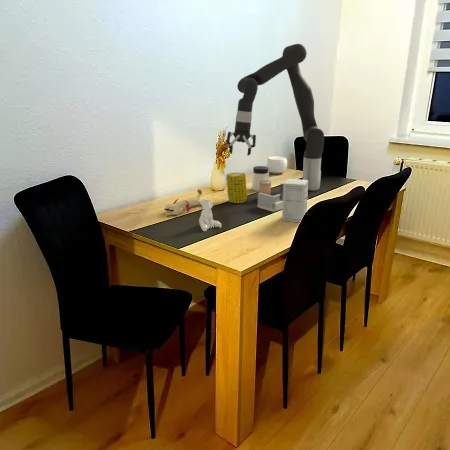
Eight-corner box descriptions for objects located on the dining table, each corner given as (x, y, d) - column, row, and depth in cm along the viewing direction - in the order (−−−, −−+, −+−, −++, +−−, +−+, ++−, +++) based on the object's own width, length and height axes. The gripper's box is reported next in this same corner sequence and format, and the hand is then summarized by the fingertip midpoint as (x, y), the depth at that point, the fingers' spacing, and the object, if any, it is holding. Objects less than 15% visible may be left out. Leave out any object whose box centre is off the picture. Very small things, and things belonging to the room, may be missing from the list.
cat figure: (193, 205, 223) (158, 213, 204) (193, 187, 221) (158, 194, 201) (209, 208, 218) (174, 217, 198) (209, 190, 216) (175, 197, 196)
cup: (266, 175, 280) (266, 159, 277) (267, 170, 291) (268, 155, 288) (286, 175, 278) (286, 160, 275) (286, 171, 290) (287, 156, 286)
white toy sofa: (280, 200, 226) (281, 186, 224) (296, 204, 219) (297, 190, 217) (257, 207, 215) (257, 192, 213) (273, 211, 208) (273, 197, 206)
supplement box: (307, 216, 201) (309, 179, 196) (303, 223, 193) (305, 184, 187) (285, 214, 204) (287, 178, 199) (281, 220, 196) (283, 182, 190)
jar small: (264, 197, 232) (264, 179, 229) (272, 199, 228) (273, 181, 225) (256, 199, 228) (257, 181, 225) (265, 201, 224) (265, 183, 221)
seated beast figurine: (203, 232, 182) (203, 203, 178) (192, 226, 189) (191, 198, 185) (222, 227, 188) (222, 199, 184) (210, 222, 194) (210, 195, 190)
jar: (260, 192, 241) (260, 169, 237) (249, 189, 247) (249, 167, 243) (271, 189, 247) (272, 167, 243) (260, 186, 253) (260, 165, 249)
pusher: (281, 199, 224) (282, 183, 221) (292, 202, 219) (293, 185, 216) (279, 199, 223) (280, 183, 220) (290, 202, 218) (291, 186, 216)
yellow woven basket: (239, 208, 219) (224, 205, 226) (254, 198, 226) (239, 195, 233) (233, 179, 212) (218, 176, 219) (249, 169, 219) (234, 167, 226)
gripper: (258, 122, 223) (254, 155, 227) (230, 119, 224) (226, 152, 229) (257, 123, 215) (253, 157, 220) (227, 119, 217) (224, 153, 221)
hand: (239, 154), depth 224 cm, fingers open, 8 cm apart
